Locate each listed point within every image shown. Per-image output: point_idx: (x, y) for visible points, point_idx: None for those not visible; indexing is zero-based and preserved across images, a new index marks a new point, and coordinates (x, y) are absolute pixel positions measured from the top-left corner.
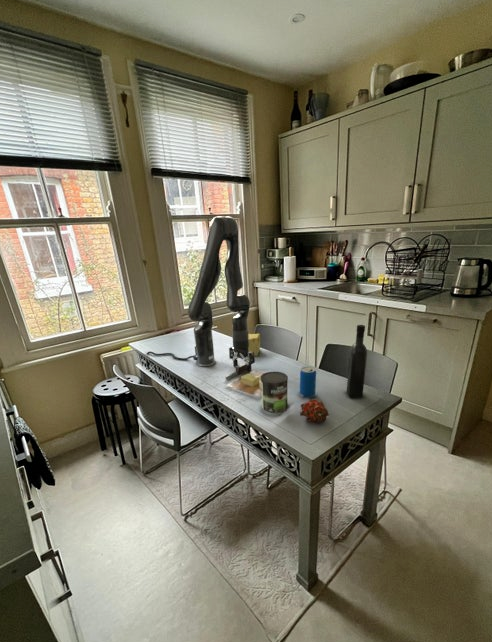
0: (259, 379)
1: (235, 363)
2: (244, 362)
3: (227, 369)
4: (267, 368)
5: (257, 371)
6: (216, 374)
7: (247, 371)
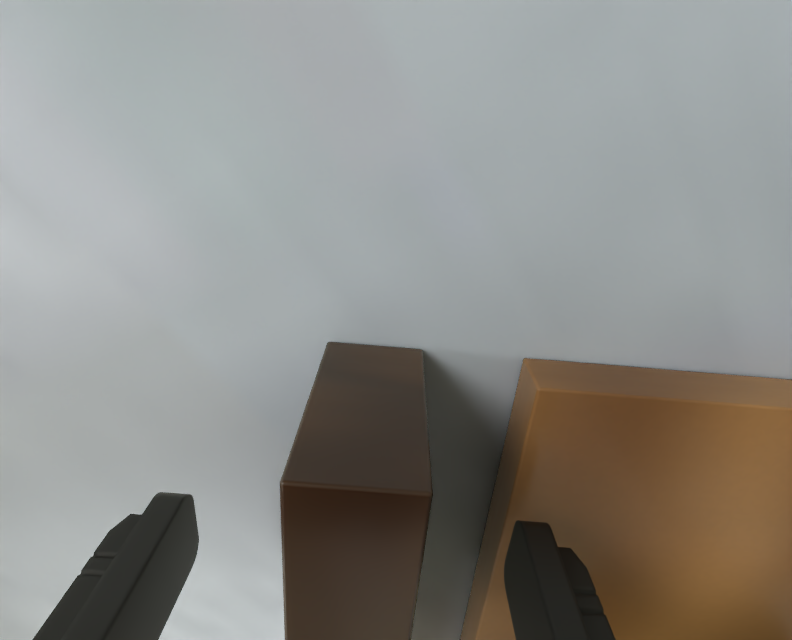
0: (781, 607)
1: (149, 629)
2: (310, 552)
3: (31, 449)
4: (731, 15)
5: (642, 416)
6: None
7: (510, 578)
